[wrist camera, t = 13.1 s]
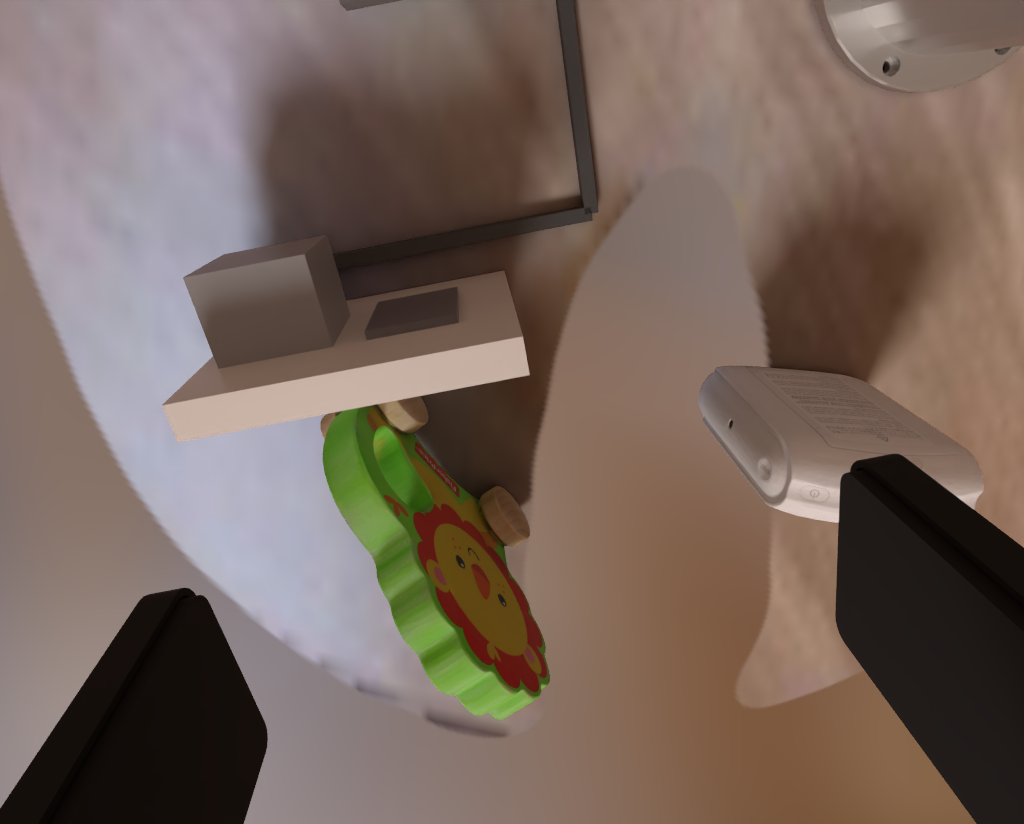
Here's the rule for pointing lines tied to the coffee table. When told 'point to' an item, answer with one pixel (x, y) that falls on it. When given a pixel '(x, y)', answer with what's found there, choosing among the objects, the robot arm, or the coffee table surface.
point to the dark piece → (527, 223)
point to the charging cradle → (362, 3)
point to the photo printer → (821, 436)
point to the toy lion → (438, 557)
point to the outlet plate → (333, 340)
